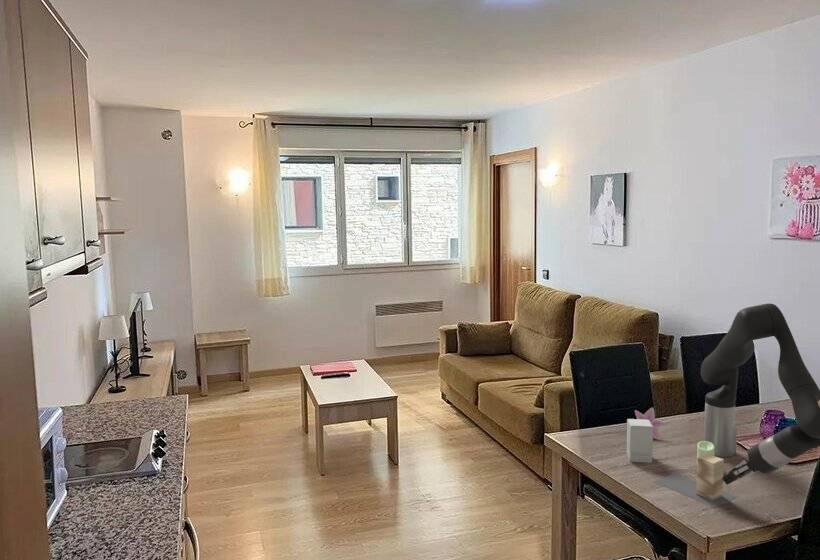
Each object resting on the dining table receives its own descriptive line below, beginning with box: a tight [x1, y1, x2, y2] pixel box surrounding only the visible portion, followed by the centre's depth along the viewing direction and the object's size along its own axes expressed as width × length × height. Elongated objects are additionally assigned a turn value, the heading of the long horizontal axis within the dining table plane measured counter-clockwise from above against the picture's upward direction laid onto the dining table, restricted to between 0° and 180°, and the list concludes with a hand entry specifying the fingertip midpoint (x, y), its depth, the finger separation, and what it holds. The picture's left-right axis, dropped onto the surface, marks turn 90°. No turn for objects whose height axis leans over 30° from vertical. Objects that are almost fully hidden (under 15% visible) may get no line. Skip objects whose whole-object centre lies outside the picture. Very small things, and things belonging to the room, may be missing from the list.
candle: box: [696, 440, 715, 459], centre depth 196 cm, size 5×5×8 cm
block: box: [696, 454, 725, 501], centre depth 176 cm, size 5×5×11 cm
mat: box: [653, 472, 738, 509], centre depth 181 cm, size 20×11×1 cm, turn 32°
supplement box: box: [626, 418, 654, 464], centre depth 205 cm, size 7×7×13 cm
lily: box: [634, 407, 664, 441], centre depth 225 cm, size 12×12×10 cm
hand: (725, 480), depth 172 cm, fingers closed
